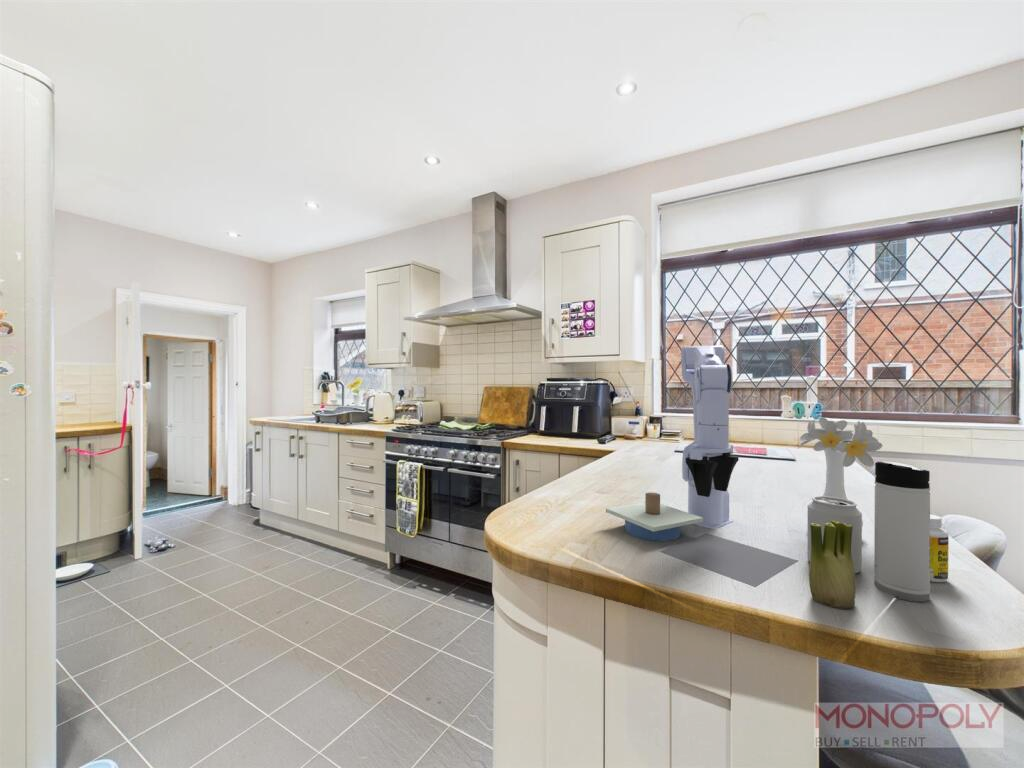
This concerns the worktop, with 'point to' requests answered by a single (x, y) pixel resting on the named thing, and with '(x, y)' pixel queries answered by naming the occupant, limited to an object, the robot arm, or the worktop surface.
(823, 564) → the fennel bulb
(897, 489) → the travel mug
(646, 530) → the bowl
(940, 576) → the supplement bottle
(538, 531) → the worktop surface
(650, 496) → the lid
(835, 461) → the flower vase
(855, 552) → the can
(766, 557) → the mat
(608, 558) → the worktop surface
